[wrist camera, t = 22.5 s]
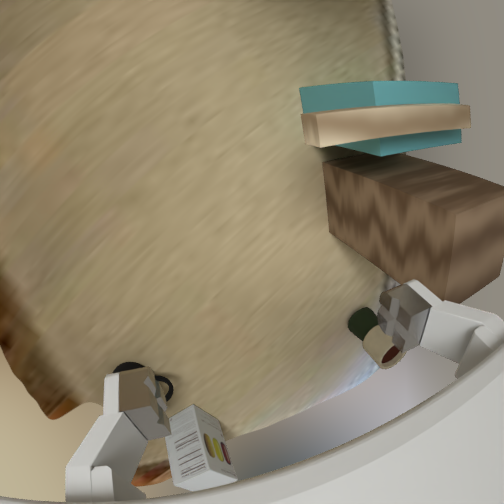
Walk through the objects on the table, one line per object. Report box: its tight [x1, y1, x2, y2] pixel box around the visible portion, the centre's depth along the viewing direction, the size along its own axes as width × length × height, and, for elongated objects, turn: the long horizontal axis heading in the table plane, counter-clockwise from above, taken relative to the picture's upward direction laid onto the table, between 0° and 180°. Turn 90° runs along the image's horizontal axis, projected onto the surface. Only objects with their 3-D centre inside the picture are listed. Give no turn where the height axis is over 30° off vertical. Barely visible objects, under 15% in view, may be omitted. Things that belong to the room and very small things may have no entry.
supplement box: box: [165, 404, 237, 491], centre depth 55 cm, size 10×9×17 cm
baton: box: [301, 103, 471, 148], centre depth 27 cm, size 3×22×3 cm, turn 100°
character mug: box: [348, 307, 407, 369], centre depth 58 cm, size 11×7×13 cm, turn 4°
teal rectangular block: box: [299, 81, 461, 157], centre depth 37 cm, size 8×15×17 cm, turn 101°
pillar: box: [322, 153, 504, 304], centre depth 40 cm, size 12×13×26 cm
